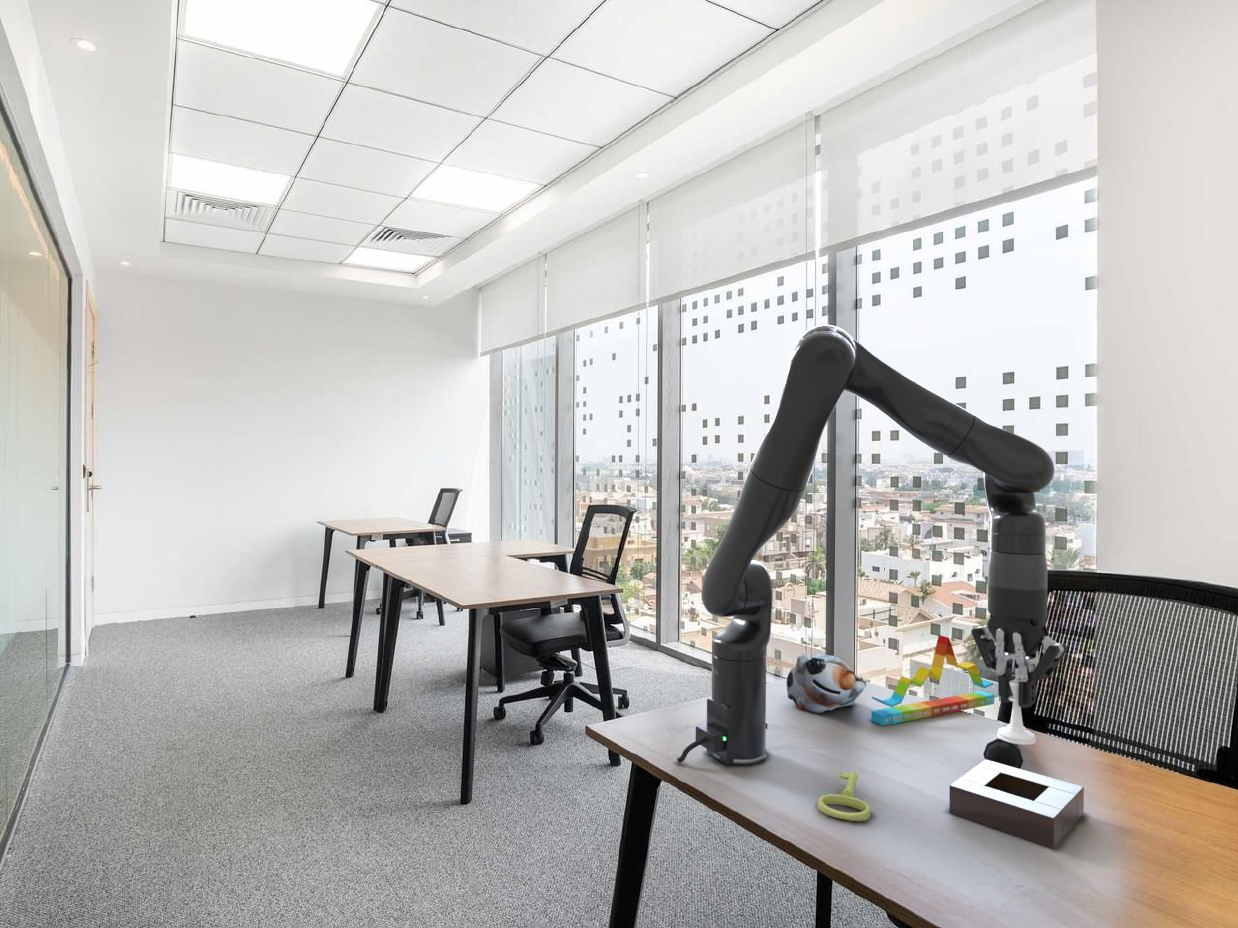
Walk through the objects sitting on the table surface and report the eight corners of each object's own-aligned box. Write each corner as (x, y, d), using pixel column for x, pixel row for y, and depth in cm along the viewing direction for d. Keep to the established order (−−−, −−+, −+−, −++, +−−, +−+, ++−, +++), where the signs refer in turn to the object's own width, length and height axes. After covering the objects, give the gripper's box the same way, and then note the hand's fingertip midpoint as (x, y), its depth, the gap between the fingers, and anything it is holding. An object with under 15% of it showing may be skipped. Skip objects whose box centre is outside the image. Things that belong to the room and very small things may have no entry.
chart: (883, 725, 141) (883, 647, 141) (871, 720, 144) (871, 643, 144) (995, 704, 154) (995, 632, 154) (982, 699, 157) (982, 629, 157)
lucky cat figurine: (860, 699, 157) (877, 649, 150) (848, 738, 147) (865, 688, 140) (791, 670, 162) (805, 622, 155) (775, 707, 153) (788, 657, 146)
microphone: (1001, 755, 135) (988, 781, 118) (991, 722, 136) (977, 744, 120) (1034, 752, 132) (1026, 778, 116) (1023, 718, 134) (1014, 739, 117)
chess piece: (998, 741, 105) (999, 671, 105) (995, 729, 110) (996, 662, 110) (1038, 747, 103) (1039, 675, 103) (1033, 734, 108) (1034, 666, 108)
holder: (1053, 848, 97) (1053, 818, 97) (949, 812, 107) (949, 785, 107) (1083, 814, 106) (1083, 786, 106) (985, 784, 116) (985, 758, 116)
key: (857, 784, 116) (857, 770, 116) (873, 823, 104) (873, 807, 104) (809, 781, 117) (809, 768, 117) (820, 819, 105) (820, 804, 105)
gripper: (1081, 588, 102) (1081, 714, 102) (989, 574, 114) (989, 686, 114) (1049, 592, 98) (1048, 723, 99) (957, 578, 111) (956, 694, 111)
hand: (1016, 703), depth 106 cm, fingers closed on chess piece
